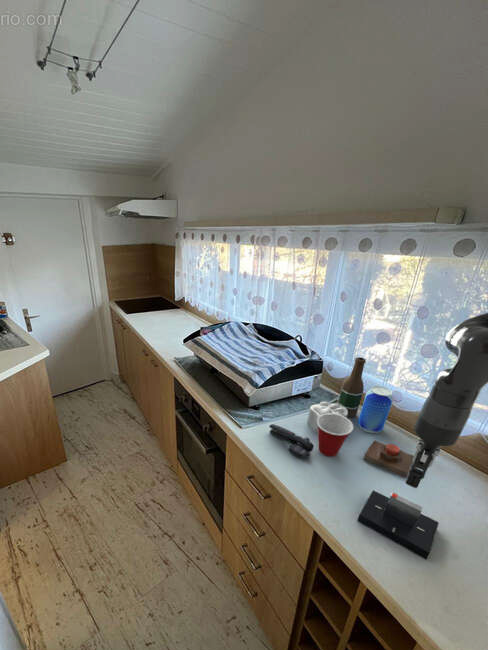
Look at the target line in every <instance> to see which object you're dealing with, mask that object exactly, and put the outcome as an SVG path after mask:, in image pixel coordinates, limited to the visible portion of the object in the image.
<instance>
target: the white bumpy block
mask: <svg viewBox="0 0 488 650" xmlns="http://www.w3.org/2000/svg"><path fill="white" fill-rule="evenodd" d="M328 413H331V414H338V415H341V416H344V417H345V418H347V415H348V411H347V409H346V408H344V407H342V406H340V405H338V403H331V402H327V401H320V403H317V404H313V405H311V406H310V407H309V411H308V416H307V420H306V425H307V426H308V427H309V428H310V429H311V430H312V431H313V432H314V433H315V434H316V435H318V432H319V429H318V425H317V418H318V417H319V416H320V415H322V414H328ZM347 419H348V418H347Z"/></svg>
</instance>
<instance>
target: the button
mask: <svg viewBox="0 0 488 650" xmlns="http://www.w3.org/2000/svg"><path fill="white" fill-rule="evenodd" d="M386 444H387V443H386ZM399 450H401V449H400V447H399V446H397V445H395V444H392V443H388V444H387V446H386V448H385V451H386V452H387V453H388V454H390V455H395V456H396V455H398V453H399Z"/></svg>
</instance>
